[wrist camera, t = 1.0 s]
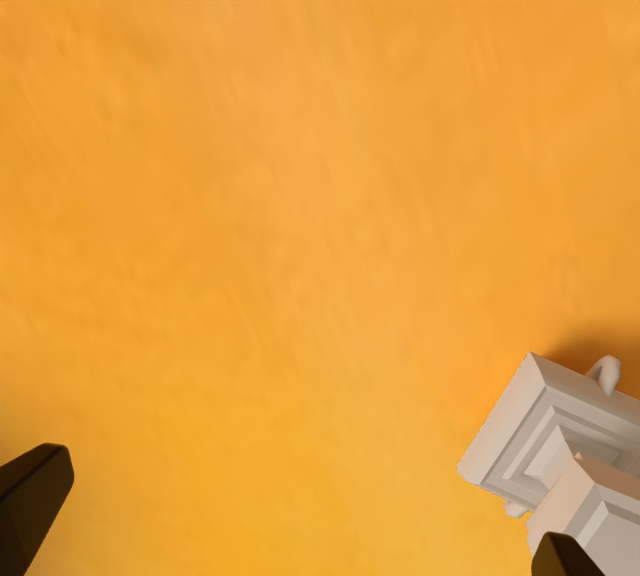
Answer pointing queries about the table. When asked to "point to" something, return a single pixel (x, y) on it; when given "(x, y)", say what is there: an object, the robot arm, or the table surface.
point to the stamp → (566, 458)
